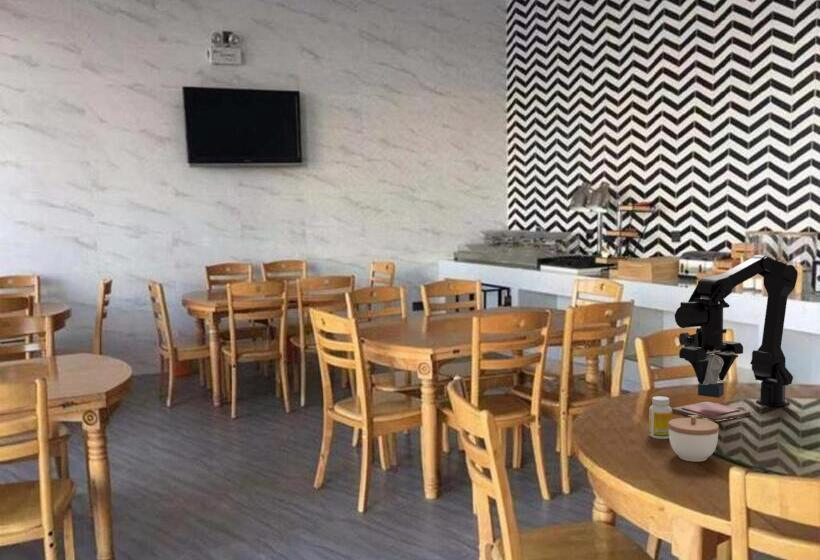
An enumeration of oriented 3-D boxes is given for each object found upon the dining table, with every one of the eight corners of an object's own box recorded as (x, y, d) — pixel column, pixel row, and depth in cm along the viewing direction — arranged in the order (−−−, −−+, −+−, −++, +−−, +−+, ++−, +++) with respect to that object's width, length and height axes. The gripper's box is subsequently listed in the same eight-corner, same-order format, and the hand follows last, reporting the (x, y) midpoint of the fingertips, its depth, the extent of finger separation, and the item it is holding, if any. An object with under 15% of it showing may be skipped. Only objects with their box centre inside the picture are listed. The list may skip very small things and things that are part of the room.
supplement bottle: (644, 435, 196) (644, 397, 195) (660, 432, 198) (660, 394, 197) (659, 440, 191) (660, 401, 190) (676, 437, 193) (676, 398, 192)
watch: (725, 393, 215) (726, 353, 214) (717, 399, 209) (717, 358, 208) (704, 390, 219) (705, 351, 218) (695, 396, 212) (695, 356, 211)
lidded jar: (691, 467, 171) (692, 425, 170) (657, 454, 180) (658, 414, 180) (729, 460, 175) (729, 419, 174) (693, 447, 185) (694, 408, 184)
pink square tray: (707, 404, 224) (707, 399, 224) (749, 415, 211) (749, 410, 211) (672, 411, 217) (672, 406, 217) (713, 423, 205) (713, 417, 205)
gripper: (711, 318, 224) (711, 372, 225) (663, 324, 215) (663, 381, 216) (744, 323, 214) (744, 379, 215) (696, 329, 205) (695, 388, 206)
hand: (711, 382), depth 213 cm, fingers closed on watch, 7 cm apart
